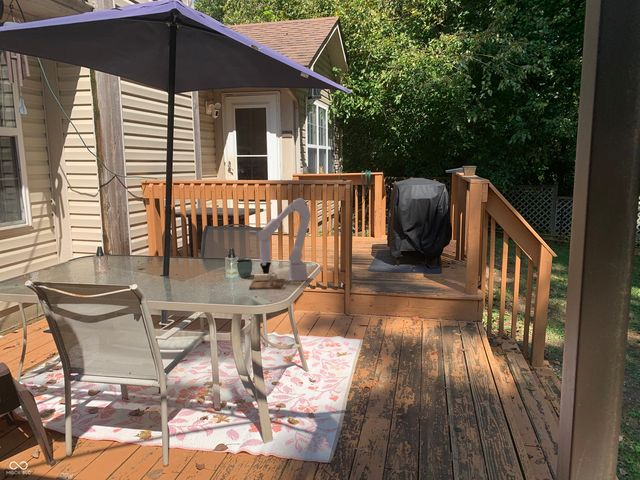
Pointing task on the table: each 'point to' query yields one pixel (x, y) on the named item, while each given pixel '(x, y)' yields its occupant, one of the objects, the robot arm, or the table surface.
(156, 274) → the table surface
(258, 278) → the link
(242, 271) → the flower pot
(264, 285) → the hinge board
